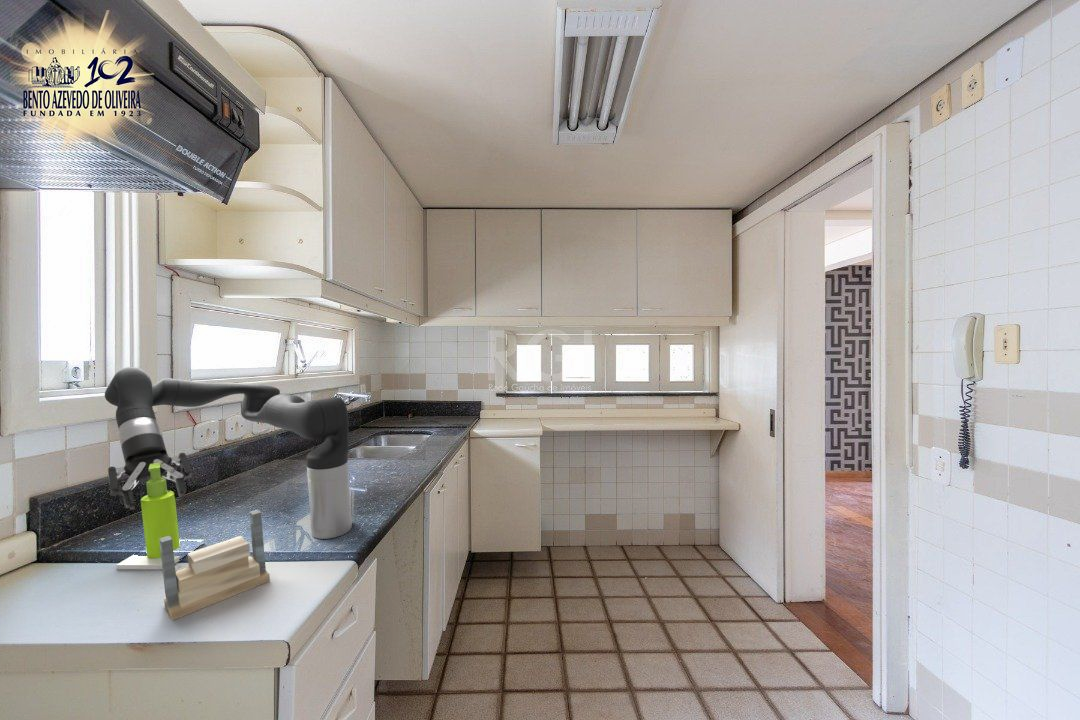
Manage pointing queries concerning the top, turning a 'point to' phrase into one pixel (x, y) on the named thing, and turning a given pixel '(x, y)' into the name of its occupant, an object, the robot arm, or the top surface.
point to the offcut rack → (213, 571)
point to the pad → (145, 561)
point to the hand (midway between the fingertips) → (157, 501)
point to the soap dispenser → (158, 513)
